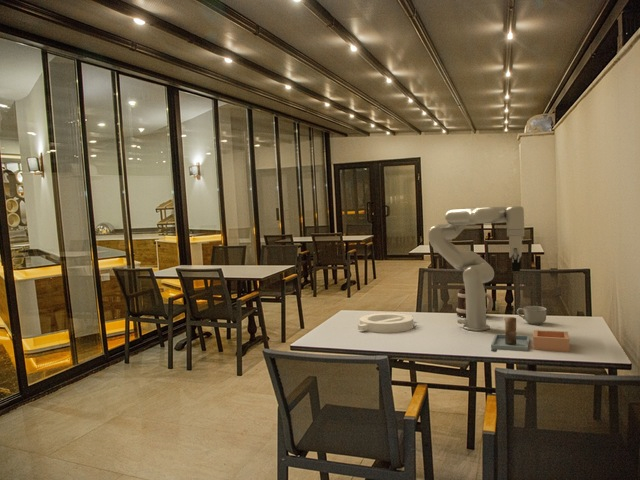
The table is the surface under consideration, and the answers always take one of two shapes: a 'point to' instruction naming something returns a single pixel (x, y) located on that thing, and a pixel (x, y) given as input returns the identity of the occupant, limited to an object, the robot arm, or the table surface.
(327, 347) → the table surface
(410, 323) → the ring with crossbar
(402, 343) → the table surface
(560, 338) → the open box
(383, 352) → the table surface
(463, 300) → the mug
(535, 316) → the teacup
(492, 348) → the tray
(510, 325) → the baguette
